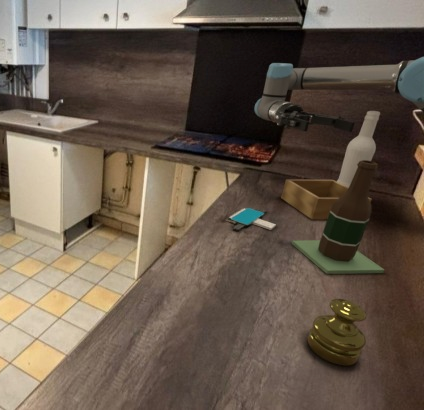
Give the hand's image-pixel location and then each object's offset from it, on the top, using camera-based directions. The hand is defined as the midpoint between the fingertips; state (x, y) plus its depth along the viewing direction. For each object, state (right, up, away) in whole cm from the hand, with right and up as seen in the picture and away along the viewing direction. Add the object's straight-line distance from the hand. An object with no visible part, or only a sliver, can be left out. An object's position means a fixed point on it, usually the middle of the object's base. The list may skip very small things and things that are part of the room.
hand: (329, 127), depth 102 cm
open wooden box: (+8, -23, +17) cm, 30 cm away
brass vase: (-27, -47, -40) cm, 68 cm away
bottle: (+24, -19, +28) cm, 42 cm away
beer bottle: (-7, -35, -12) cm, 37 cm away
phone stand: (-19, -27, +6) cm, 34 cm away
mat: (-7, -35, -12) cm, 38 cm away
